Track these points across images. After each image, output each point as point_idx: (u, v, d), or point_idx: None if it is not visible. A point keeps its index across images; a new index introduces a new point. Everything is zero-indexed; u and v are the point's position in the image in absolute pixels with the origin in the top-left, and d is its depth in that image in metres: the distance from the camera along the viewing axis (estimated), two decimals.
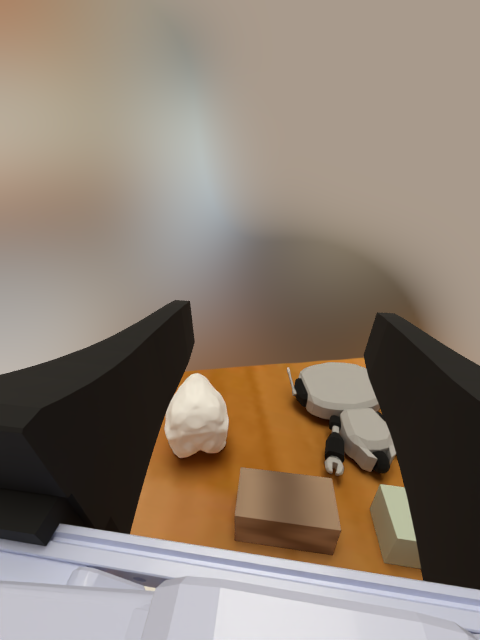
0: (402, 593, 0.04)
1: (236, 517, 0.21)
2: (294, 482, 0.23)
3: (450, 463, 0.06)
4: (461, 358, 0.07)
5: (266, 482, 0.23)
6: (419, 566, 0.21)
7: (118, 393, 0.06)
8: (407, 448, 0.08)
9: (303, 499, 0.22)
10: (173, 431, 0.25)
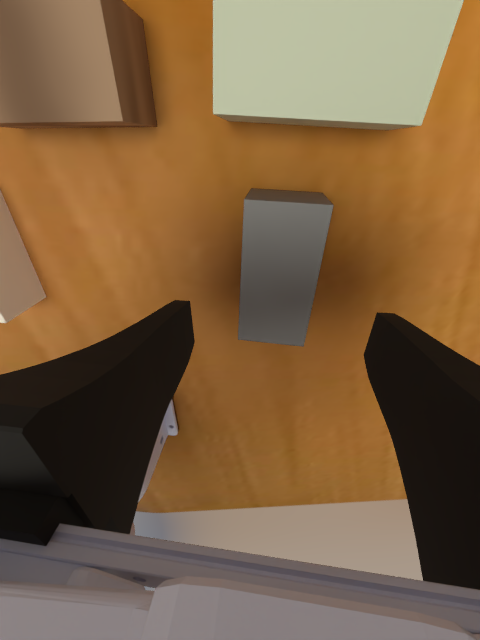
0: (402, 594, 0.04)
1: None
2: (18, 14, 0.10)
3: (450, 463, 0.06)
4: (461, 358, 0.07)
5: None
6: (277, 123, 0.14)
7: (118, 393, 0.06)
8: (407, 448, 0.08)
9: (48, 61, 0.11)
10: None
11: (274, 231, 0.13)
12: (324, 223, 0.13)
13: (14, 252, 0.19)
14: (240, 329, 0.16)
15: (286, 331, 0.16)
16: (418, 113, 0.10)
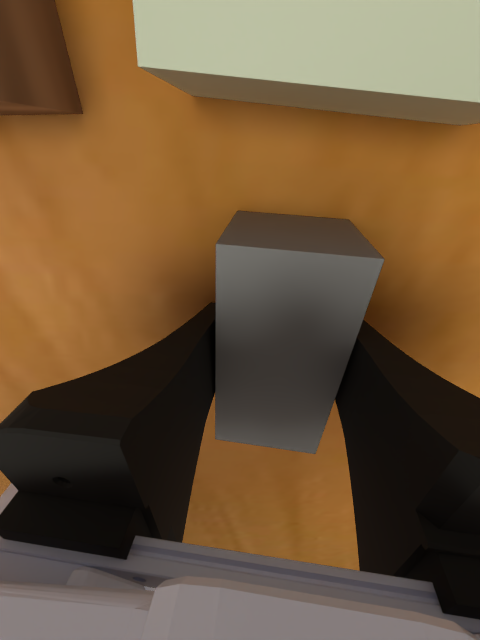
0: (402, 592, 0.04)
1: None
2: None
3: (379, 455, 0.06)
4: (400, 353, 0.07)
5: None
6: (274, 103, 0.08)
7: (179, 399, 0.06)
8: (353, 442, 0.08)
9: None
10: None
11: (272, 299, 0.07)
12: (364, 289, 0.07)
13: None
14: (218, 427, 0.11)
15: (289, 434, 0.10)
16: None
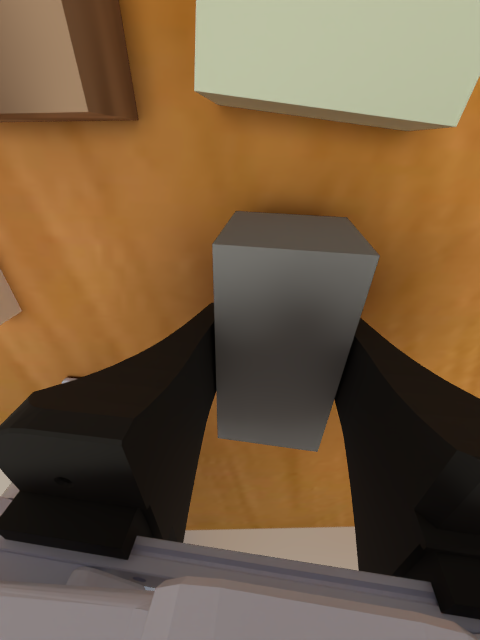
0: (402, 593, 0.04)
1: None
2: None
3: (378, 455, 0.06)
4: (399, 353, 0.07)
5: None
6: (277, 112, 0.11)
7: (180, 399, 0.06)
8: (352, 442, 0.08)
9: None
10: None
11: (269, 297, 0.07)
12: (360, 286, 0.07)
13: None
14: (220, 426, 0.11)
15: (291, 432, 0.10)
16: (454, 110, 0.08)
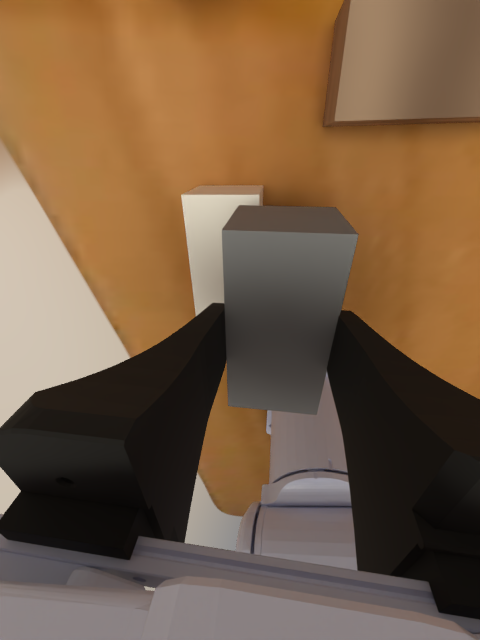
0: (401, 593, 0.04)
1: (336, 121, 0.12)
2: None
3: (376, 454, 0.06)
4: (397, 353, 0.07)
5: (415, 18, 0.10)
6: None
7: (181, 399, 0.06)
8: (350, 442, 0.08)
9: None
10: None
11: (270, 274, 0.09)
12: (344, 260, 0.08)
13: None
14: (230, 394, 0.12)
15: (292, 397, 0.12)
16: None
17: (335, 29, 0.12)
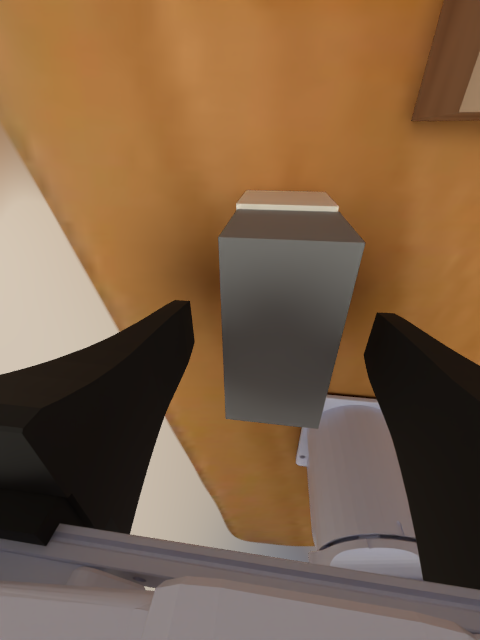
0: (402, 594, 0.04)
1: (459, 112, 0.09)
2: None
3: (450, 463, 0.06)
4: (461, 358, 0.07)
5: None
6: None
7: (118, 393, 0.06)
8: (407, 448, 0.08)
9: None
10: None
11: (269, 283, 0.08)
12: (349, 270, 0.08)
13: None
14: (228, 407, 0.12)
15: (293, 411, 0.11)
16: None
17: None
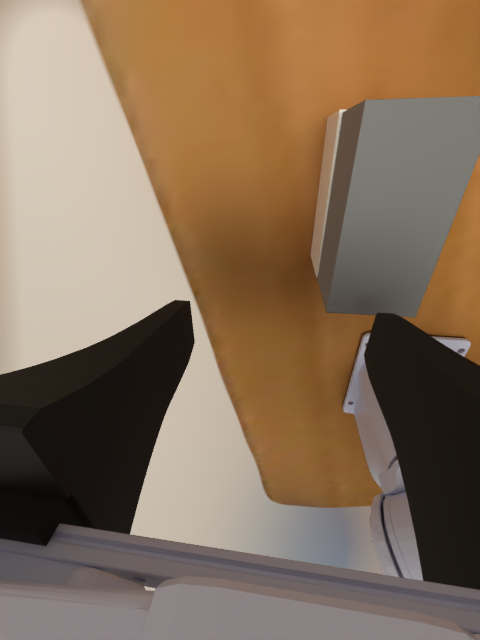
0: (401, 593, 0.04)
1: None
2: None
3: (450, 463, 0.06)
4: (461, 358, 0.07)
5: None
6: None
7: (118, 393, 0.06)
8: (407, 448, 0.08)
9: None
10: None
11: (403, 148, 0.09)
12: None
13: None
14: (331, 298, 0.13)
15: (395, 297, 0.12)
16: None
17: None
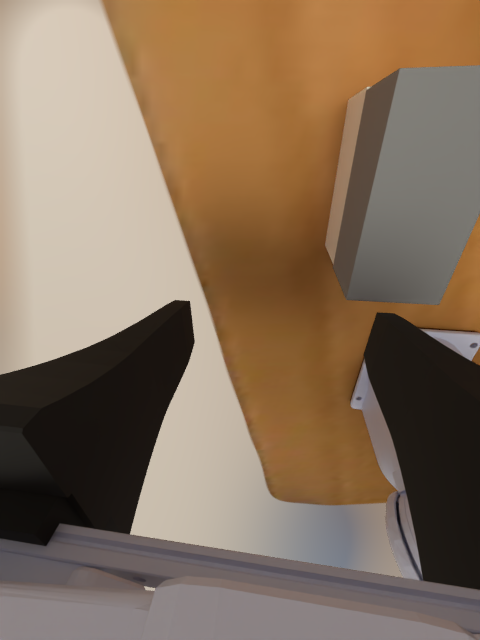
0: (402, 594, 0.04)
1: None
2: None
3: (450, 463, 0.06)
4: (461, 358, 0.07)
5: None
6: None
7: (118, 393, 0.06)
8: (407, 448, 0.08)
9: None
10: None
11: (437, 122, 0.09)
12: None
13: None
14: (352, 284, 0.12)
15: (418, 283, 0.12)
16: None
17: None
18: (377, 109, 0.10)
